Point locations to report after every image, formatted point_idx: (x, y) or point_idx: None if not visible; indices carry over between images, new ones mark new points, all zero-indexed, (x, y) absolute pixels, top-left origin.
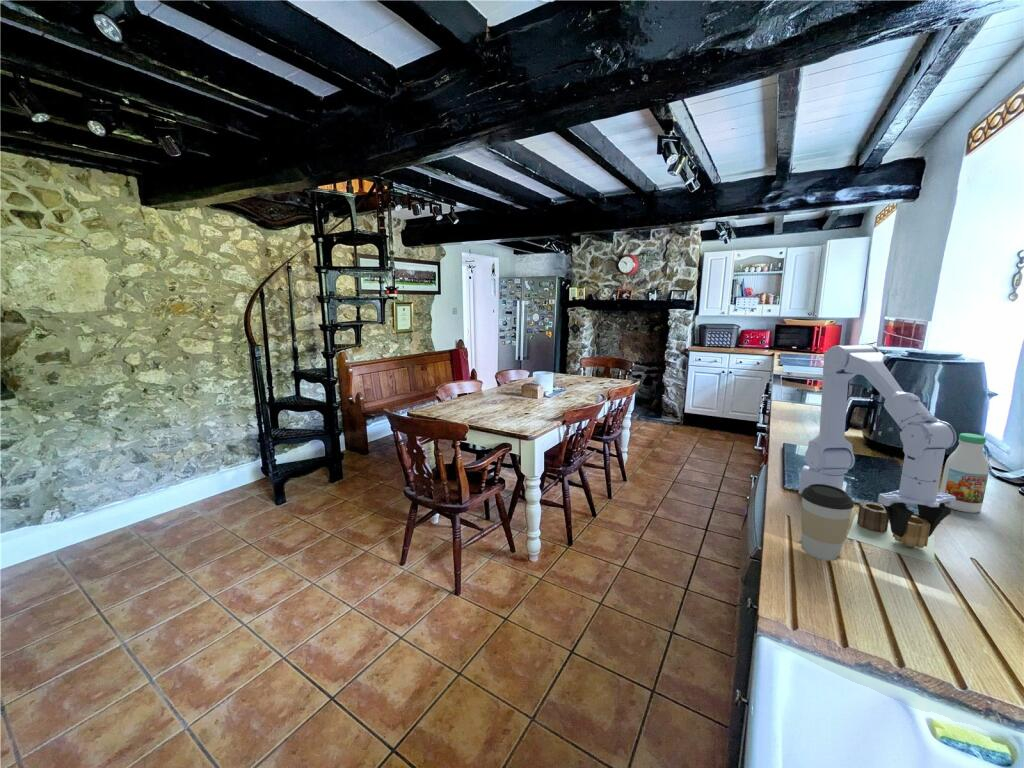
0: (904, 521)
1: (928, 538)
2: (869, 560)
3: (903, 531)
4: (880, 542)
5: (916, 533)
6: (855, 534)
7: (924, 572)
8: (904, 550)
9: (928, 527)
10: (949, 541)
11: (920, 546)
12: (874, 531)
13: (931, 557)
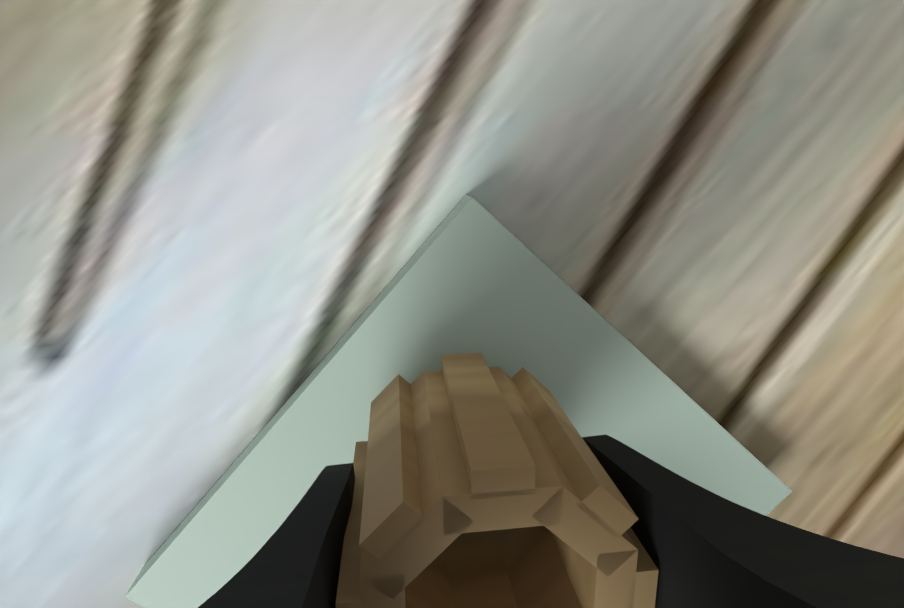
0: (735, 522)
1: (215, 544)
2: (802, 272)
3: (628, 455)
4: None
5: (534, 428)
6: None
7: (562, 150)
8: (538, 364)
9: (413, 489)
10: (41, 558)
11: (470, 356)
12: None
13: (416, 285)
